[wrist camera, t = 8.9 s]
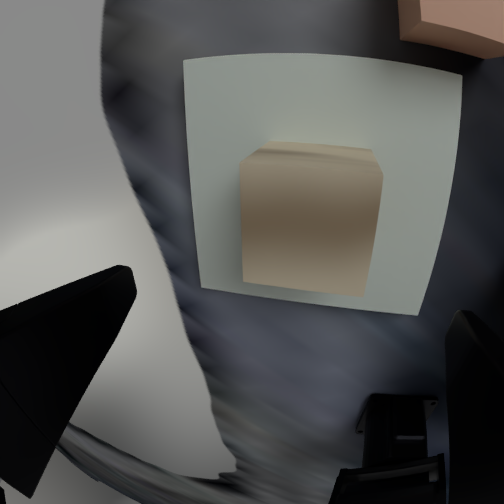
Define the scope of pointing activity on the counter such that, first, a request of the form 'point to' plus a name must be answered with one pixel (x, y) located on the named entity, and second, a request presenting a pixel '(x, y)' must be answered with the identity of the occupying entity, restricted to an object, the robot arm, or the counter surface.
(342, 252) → the beech brick
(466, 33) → the brownish pink cube
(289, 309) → the counter surface
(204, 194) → the baseplate
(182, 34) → the counter surface
